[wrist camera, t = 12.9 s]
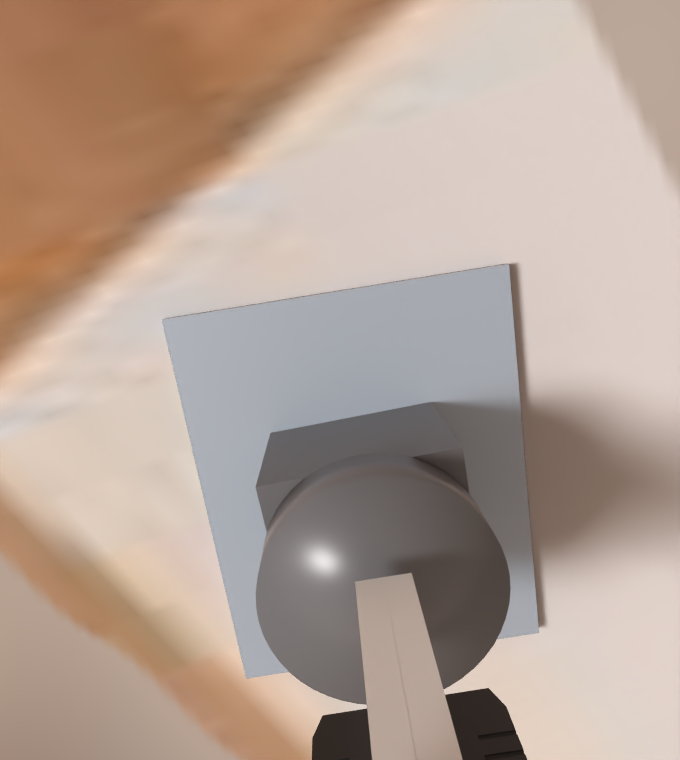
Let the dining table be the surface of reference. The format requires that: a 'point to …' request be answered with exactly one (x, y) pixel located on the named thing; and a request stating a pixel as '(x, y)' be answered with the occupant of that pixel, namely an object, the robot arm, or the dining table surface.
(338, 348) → the shaft board
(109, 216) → the dining table surface
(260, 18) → the dining table surface
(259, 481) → the knob
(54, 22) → the dining table surface
